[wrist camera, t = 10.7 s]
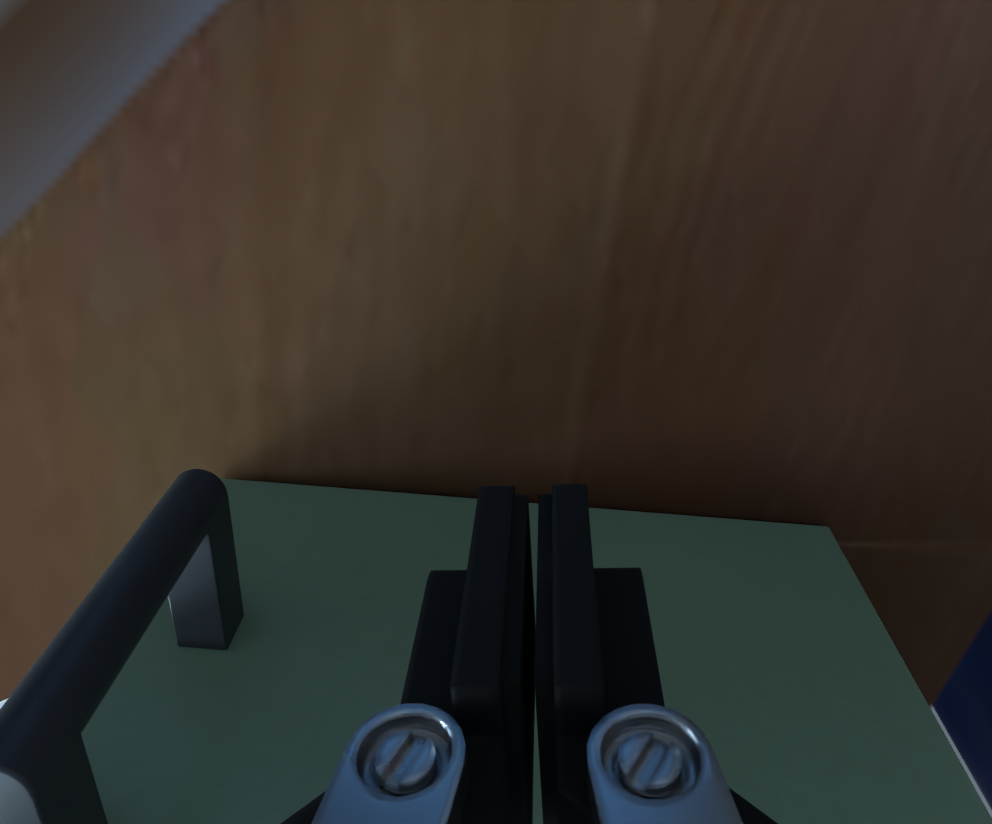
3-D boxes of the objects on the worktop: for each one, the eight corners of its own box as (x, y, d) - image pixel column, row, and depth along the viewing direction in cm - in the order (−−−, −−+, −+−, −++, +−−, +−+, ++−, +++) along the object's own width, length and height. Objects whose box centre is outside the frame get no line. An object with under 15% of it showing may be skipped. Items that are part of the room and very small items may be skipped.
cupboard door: (202, 353, 29) (-918, 1511, 7) (870, 404, 29) (2042, 1808, 6) (222, 496, 33) (-491, 1602, 10) (822, 544, 32) (1489, 1804, 10)
